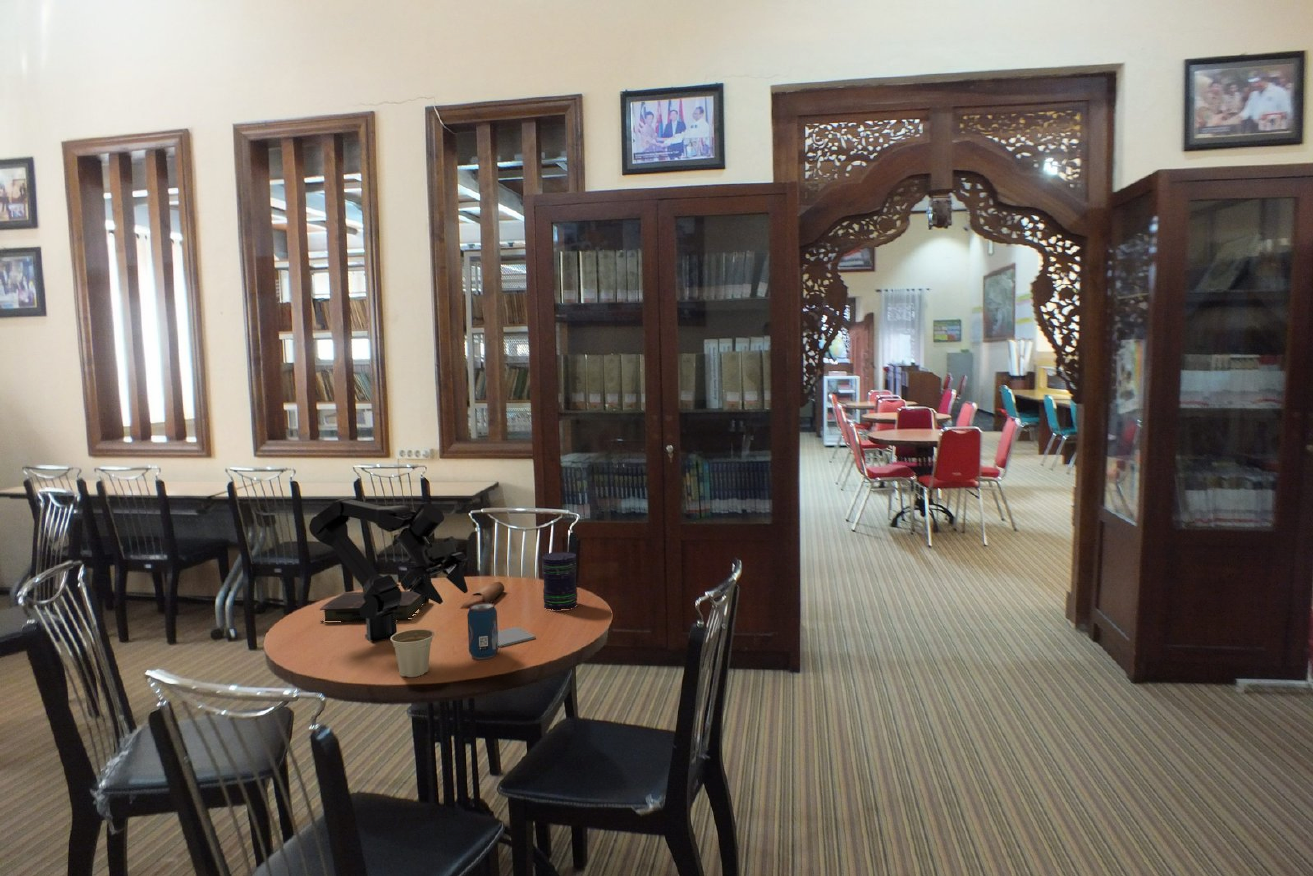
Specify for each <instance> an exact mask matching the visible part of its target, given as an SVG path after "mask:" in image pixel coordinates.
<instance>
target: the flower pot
mask: <svg viewBox="0 0 1313 876" xmlns="http://www.w3.org/2000/svg"><path fill="white" fill-rule="evenodd" d="M434 636H435V632H434V631H432V630H430V629H426V628H424V629H422V628H417V629H408V630H403V631H400V632H396V633H395V634H394V635H393V636H391V638H390V642H392V646H393V648H394V652H395V655H396V656H395V657H396V661H397V666H398V672H399V675H400V676H401V677H403V678H404V677H407V678H416V677H420V675H421V676H423V675H424V674H425V673H428V672H429V665H430V663H429V662H430V653H431V647H432V646H431V645H432V642H433V637H434Z"/></svg>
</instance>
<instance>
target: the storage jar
mask: <svg viewBox="0 0 1313 876" xmlns="http://www.w3.org/2000/svg"><path fill="white" fill-rule="evenodd" d="M576 557H577V556H576V553H574V552H570V551H555V552H548V553H545V554H543V555H542V557H541V560H542V561H541V563H542V564H541V566H542V567H541V568H542V569H541V570H542V572H541V573H542V576H543V590H542V592H543V595H542V596H543V597H542V598H543V604H544V605H543V608H546V609H551V610H552V609H553V610H561V609H571V608H574V607H575V606H576V605H577V606H578V587H577V583H576V582H577V581H576V575H577V561H576V560H577V559H576ZM546 609H545V610H546ZM574 609H575V608H574ZM571 610H572V609H571Z"/></svg>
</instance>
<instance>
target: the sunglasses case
mask: <svg viewBox="0 0 1313 876" xmlns="http://www.w3.org/2000/svg"><path fill="white" fill-rule="evenodd" d="M504 591H505V585H504V584H503V583H502V582H501V581H496V582H492V583H489V584H486V585H485V586H483V587H481V588H480V589H478V590H476V591H474V592H473V593H472V595H471V596H470V597H469V598H468V599H466V600H465V602H463V603H462V605H461V606H460V607H459V609H461V610H462V609H463V610H464V609H466V610H469V609H470V606H471V605H473V604H476V603H492V602H493V601H494V600H495V599H497V598H498V597H499V596H500V595H501V594H502V593H504Z"/></svg>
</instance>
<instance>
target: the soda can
mask: <svg viewBox="0 0 1313 876" xmlns="http://www.w3.org/2000/svg"><path fill="white" fill-rule="evenodd" d="M466 615H467V616H466V617H467V637H468V641H467V642H468V652H469V655H471V657H472V658H473V659H476V660H477V659H478V660H482V659H485V660H486V659H491V658H493V657H495V656H496V654H497V652H498V651H499V647H498V631H499V629H498V611H497V610H496V608H495V604H494V603H492V602H491V603H476V604H473V605H471V606H470V609H468V612H467V614H466Z"/></svg>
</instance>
